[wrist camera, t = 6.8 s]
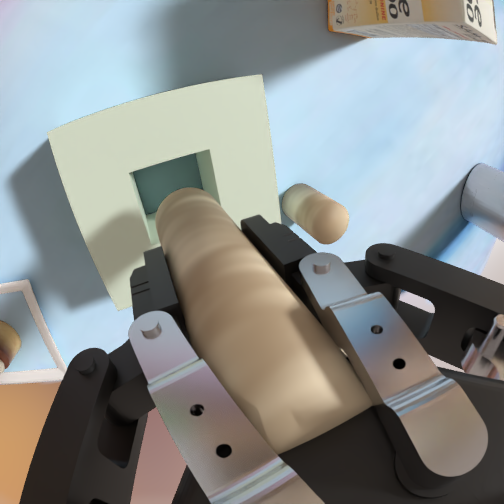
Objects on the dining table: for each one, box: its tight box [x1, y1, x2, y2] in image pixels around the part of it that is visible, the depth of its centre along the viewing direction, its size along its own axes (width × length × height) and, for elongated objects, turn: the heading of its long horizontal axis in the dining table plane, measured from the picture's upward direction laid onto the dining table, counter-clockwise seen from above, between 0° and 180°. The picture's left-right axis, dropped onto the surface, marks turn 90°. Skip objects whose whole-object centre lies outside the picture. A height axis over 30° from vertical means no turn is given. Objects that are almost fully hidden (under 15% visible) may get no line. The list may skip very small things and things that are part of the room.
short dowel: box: [282, 183, 349, 244], centre depth 24 cm, size 3×3×5 cm
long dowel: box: [155, 187, 373, 455], centre depth 10 cm, size 3×3×12 cm
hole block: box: [47, 74, 281, 311], centre depth 19 cm, size 12×12×5 cm
